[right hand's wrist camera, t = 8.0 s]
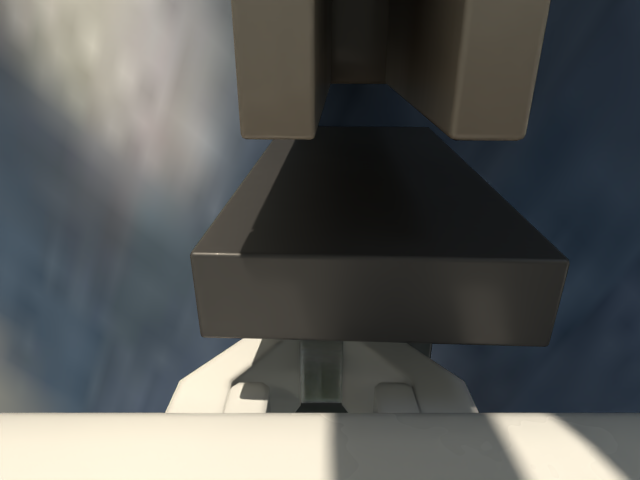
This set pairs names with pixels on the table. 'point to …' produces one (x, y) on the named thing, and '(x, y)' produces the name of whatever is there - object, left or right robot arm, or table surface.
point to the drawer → (379, 182)
